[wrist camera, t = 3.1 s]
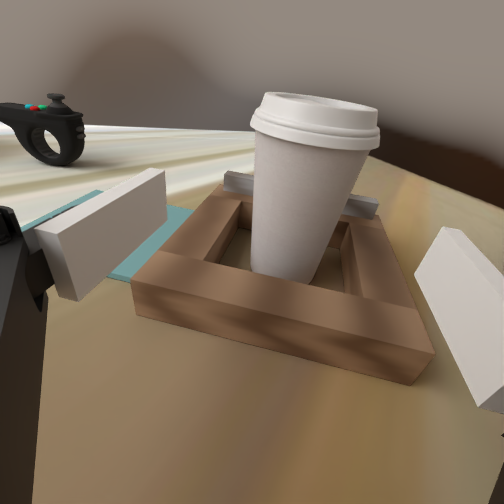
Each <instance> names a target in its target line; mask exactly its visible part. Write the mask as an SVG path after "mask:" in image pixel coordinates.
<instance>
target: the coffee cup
mask: <svg viewBox="0 0 504 504" xmlns="http://www.w3.org/2000/svg"><path fill="white" fill-rule="evenodd" d="M377 115H378V110H377V109H375V108H372V107H368V106H364V105H360V104H355V103H350V102H345V101H340V100H334V99H328V98H321V97H315V96H308V95H300V94H291V93H280V92H266V93H265V95H264V98H263V101H262V103H261V106H260V107H258V108H257V109H256V110H255V113H254V114H253V116H252V119H251V122H250V126H251V127H252V128H254V129H255V130H256V132H255V164H254V191H253V215H252V239H251V263H250V265H251V269H252V271H253V272H255V273H260V274H264V275H268V276H273V277H277V278H281V279H286V280H290V281H294V282H299V283H303V284H309V283H310V282H311V281H312V279H313V277H314V275H315V272H316V270H317V268H318V266H319V263H320V261H321V259H322V257H323V254H324V252H325V250H326V247H327V245H328V243H329V241H330V238H331V236H332V234H333V232H334V229H335V227H336V225H337V223H338V220H339V218H340V216H341V213H342V211H343V209H344V207H345V204H346V202H347V200H348V198H349V195H350V193H351V191H352V189H353V187H354V184H355V182H356V180H357V178H358V175H359V173H360V171H361V169H362V167H363V164H364V162H365V160H366V158H367V156H368V153H369V151H370V150H371V149H375V148H377V147H379V141H380V135H379V133H380V130H379V127H377V126H376V125H377Z"/></svg>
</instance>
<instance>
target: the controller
mask: <svg viewBox="0 0 504 504" xmlns="http://www.w3.org/2000/svg"><path fill="white" fill-rule="evenodd" d="M47 97H48V98H50V99H52V101H53V102H52V103H51V104H50V105H49V106H48V107H47V106H45V105H39V106H38V107H37V106H34V105H31V104H27V105H23V104H16V103H0V122H2V123H4V124H6V125H8V126H10V127H11V128H12V129H13V130H14V132H15V135H16V137H17V139H18V140H19V142H20V143H21V145H22V146H23V147H24V148H25V149H26V151H28V152H29V153H30V154H31V155H32V156H33V157H35V158H36V159H38V160H40V161H42V162H44V163H47V164H50V165H66V164H68V163H71V162H73V161H75V160H76V159H78V158H79V157H80V155H81V154H82V152H83V149H84V143H85V141H84V138H85V137H86V135H85V134H84V129H85V128H84V124H83V122H82V118H81V117H83V114H82V113H79V112H74V111H72V110H71V109H70V108H69V107H68V106H66V105H65V104H64V103H62V100H61V99H64V98H65V96H64V95H62V94H47ZM45 130H47V131H49V132H50V133H51V134H52V135H53V136H54V137H55V138H56V140H57V141H58V143H59V146H60V154H58V153H56V152H55V151H53V150H52V149H51V148H50V147H49V145H48V144H47V142H46V140H45V138H44V131H45Z"/></svg>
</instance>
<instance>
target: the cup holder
mask: <svg viewBox="0 0 504 504" xmlns="http://www.w3.org/2000/svg"><path fill="white" fill-rule="evenodd" d="M253 191H254V175H249V174H243V173H238V172H233V171H227V172H226V173H225V174H224V185H222V184H220V185H219V186H218V187H217V188H216V189H215V190H214V191H213V192H212V193H211V194H210V195H209V196H208V197H207V198H206V199H205V200H204V201H203V203H202V204H201V205H200V206H199V207H198V208H197V209H196V210H195V211H194V212H193V213H192V214H191V215H190V216H189V217H188V218H187V219H186V220H185V222H184V223H183V224H182V225H181V226H180V227H179V228H178V229H177V230H176V231H175V232H174V233H173V234H172V235H171V236H170V237H169V238H168V239H167V241H166V242H165V243H164V244H163V245H162V246H161V247H160V248H159V249H158V250H157V251H156V252H155V253H154V254H153V255H152V256H151V257H150V258H149V260H148V261H147V262H146V263H145V264H144V265H143V266H142V267H141V268H140V269H139V270H138V271H137V272H136V273H135V274H134V275H133V276H132V277H131V279H130V283H131V288H132V294H133V300H134V306H135V311H136V315H140V316H143V317H147V318H151V319H155V320H159V321H163V322H166V323H170V324H174V325H178V326H182V327H186V328H189V329H193V330H197V331H201V332H205V333H209V334H212V335H216V336H220V337H224V338H228V339H232V340H235V341H239V342H243V343H247V344H251V345H255V346H258V347H262V348H266V349H270V350H274V351H278V352H281V353H285V354H289V355H293V356H297V357H301V358H305V359H308V360H312V361H316V362H320V363H324V364H328V365H331V366H335V367H339V368H343V369H347V370H351V371H354V372H358V373H362V374H366V375H370V376H374V377H377V378H381V379H385V380H389V381H393V382H397V383H400V384H404V385H408V386H410V385H411V384H412V383H413V382H414V381H415V379H416V378H417V377H418V376H419V375H420V373H421V372H422V371H423V370H424V368H425V367H426V366H427V365H428V364H429V362H430V361H431V360H432V359H433V357H434V356H435V355H436V353H435V351H434V348H433V346H432V344H431V341H430V339H429V336H428V334H427V332H426V329H425V327H424V324H423V322H422V319H421V317H420V315H419V312H418V310H417V307H416V305H415V302H414V300H413V298H412V295H411V293H410V290H409V288H408V286H407V283H406V281H405V278H404V276H403V273H402V271H401V269H400V266H399V264H398V261H397V259H396V256H395V254H394V252H393V249H392V247H391V244H390V242H389V240H388V237H387V235H386V232H385V230H384V227H383V225H382V223H381V220H380V218H379V215H375V212H376V210H377V208H378V205H379V203H378V201H377V199H375V198H370V197H364V196H359V195H354V194H350V195H349V198H348V200H347V202H346V204H345V207H344V209H343V211H342V213H341V216H340V218H339V220H338V223H337V225H336V227H335V229H334V232H333V234H332V236H331V238H330V241H329V243H328V245H327V246H329V247H334V248H339V249H340V255H341V264H342V273H343V282H344V292H345V293H342V292H338V291H333V290H329V289H325V288H320V287H316V286H312V285H307V284H303V283H299V282H294V281H290V280H286V279H281V278H277V277H273V276H268V275H264V274H260V273H255V272H251V271H247V270H242V269H238V268H234V267H229V266H225V265H221V264H219V262H220V260H221V258H222V256H223V254H224V253H225V251H226V249H227V247H228V245H229V244H230V242H231V240H232V238H233V236H234V235H235V233H236V231H237V229H238V227H240V228H245V229H249V230H252V215H253Z"/></svg>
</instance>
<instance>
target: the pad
mask: <svg viewBox="0 0 504 504" xmlns="http://www.w3.org/2000/svg"><path fill="white" fill-rule="evenodd" d="M103 192H104V191H100V190H95V191H93V192H91V193H89V194H87V195H85V196H83V197H81V198H79V199H77V200H75V201H73V202H71V203H69V204H67V205H65V206H63V207H61V208H59V209H57V210H55V211H53V212H51V213H49V214H47V215H45V216H43V217H41V218H39V219H37V220H35V221H33V222H31V223H29V224H27V225H25V226H23V227H21V231H22V232H23V231H25V230H27V229H29V228H31V227H33V226H35V225H36V224H38V223H40V222H42V221H44V220H46V219H48V218H52V216H54V215H56V214H58V213H61V212H62V211H64V210H66V209H68V208H70V207H72V206H75V205H78V204H81V203H83V202H85V201H87V200H89V199H91V198H93V197H95V196H97V195H99V194H101V193H103ZM194 211H195V210H190V209H185V208H181V207H176V206H171V205H167V221H166V222H165V223H164V224H163V225H162V226H161V227H159V228H158V229H157V230H156V231H155V232H154V233H153V234H152V235H151V236H150V237H149V238H148V239H146V240H145V241H144V242H143V243H142V244H141V245H140V246H139V247H138V248H137V249H136V250H135V251H133V252H132V253H131V254H130V255H129V256H128V257H127V258H126V259H125V260H124V261H123V262H122V263H121V264H119V265H118V266H117V267H116V268H115V269H114V270H113V271H112V272H111V273H110V274H109V275H108V276H106V277H109V278H113V279H117V280H121V281H126V282H130V279H131V277H132V276H133V275H134V274H135V273H136V272H137V271H138V270H139V269H140V268H141V267H142V266H143V265H144V264H145V263H146V262H147V261H148V260H149V258H150V257H151V256H152V255H153V254H154V253H155V252H156V251H157V250H158V249H159V248H160V247H161V246H162V245H163V244H164V243H165V242H166V241H167V239H168V238H169V237H170V236H171V235H172V234H173V233H174V232H175V231H176V230H177V229H178V228H179V227H180V226H181V225H182V224H183V223H184V222H185V220H186V219H187V218H188V217H189V216H190V215H191V214H192V213H193V212H194Z"/></svg>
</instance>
